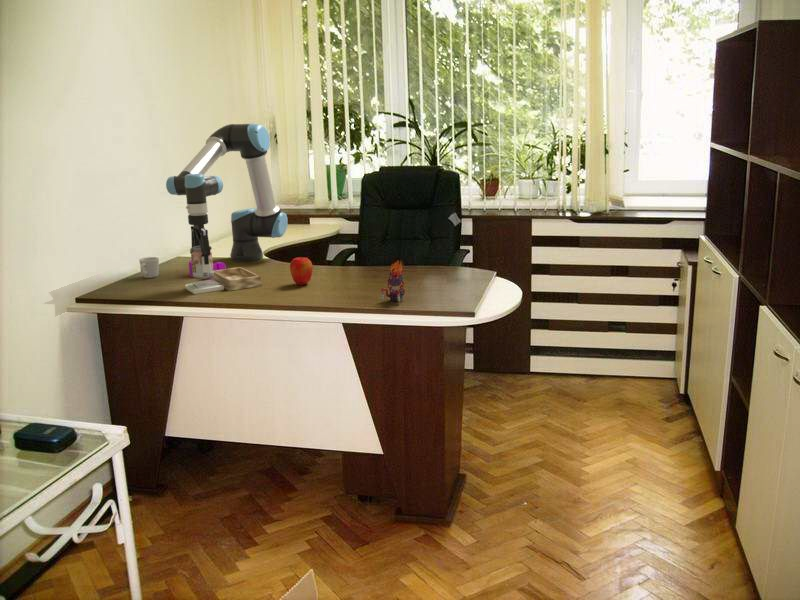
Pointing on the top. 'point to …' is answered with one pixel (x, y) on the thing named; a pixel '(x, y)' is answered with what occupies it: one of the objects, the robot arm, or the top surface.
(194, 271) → the beverage can
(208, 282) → the grey square pad
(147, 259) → the cup
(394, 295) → the figurine
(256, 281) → the trough board
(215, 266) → the magenta pipe bracket
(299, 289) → the top surface
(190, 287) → the checker base
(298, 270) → the apple
